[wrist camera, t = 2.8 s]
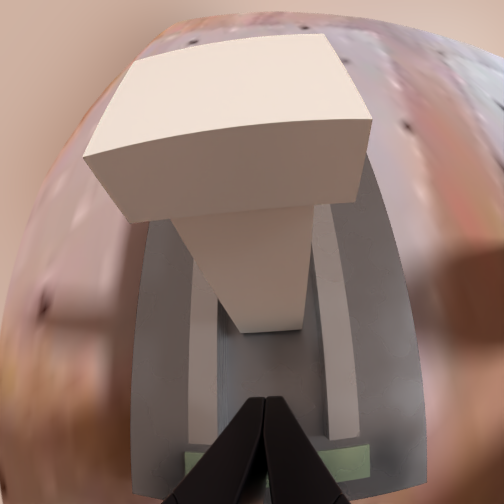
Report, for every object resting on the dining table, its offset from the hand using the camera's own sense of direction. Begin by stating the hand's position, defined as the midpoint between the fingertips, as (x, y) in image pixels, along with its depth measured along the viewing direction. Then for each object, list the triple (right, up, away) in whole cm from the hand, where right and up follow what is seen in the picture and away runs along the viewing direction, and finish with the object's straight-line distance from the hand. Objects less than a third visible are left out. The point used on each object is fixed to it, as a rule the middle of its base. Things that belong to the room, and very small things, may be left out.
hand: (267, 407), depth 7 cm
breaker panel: (+1, 0, +8) cm, 8 cm away
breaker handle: (0, +2, +5) cm, 6 cm away
